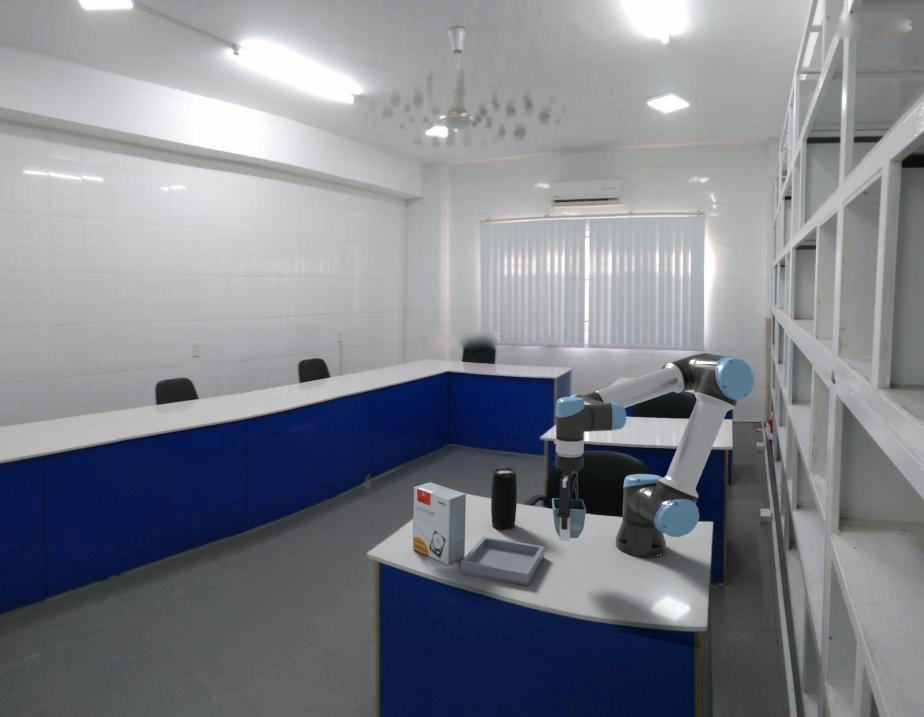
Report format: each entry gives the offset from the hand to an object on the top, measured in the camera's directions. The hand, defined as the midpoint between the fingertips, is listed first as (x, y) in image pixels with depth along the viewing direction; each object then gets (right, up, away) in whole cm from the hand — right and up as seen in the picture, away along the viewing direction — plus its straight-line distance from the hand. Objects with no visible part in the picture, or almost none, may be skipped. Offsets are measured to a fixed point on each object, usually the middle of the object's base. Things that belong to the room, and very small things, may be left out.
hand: (568, 532), depth 165 cm
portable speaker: (-15, -9, +38) cm, 42 cm away
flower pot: (0, -1, 0) cm, 1 cm away
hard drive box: (-37, -11, +15) cm, 41 cm away
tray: (-17, -12, +8) cm, 22 cm away
